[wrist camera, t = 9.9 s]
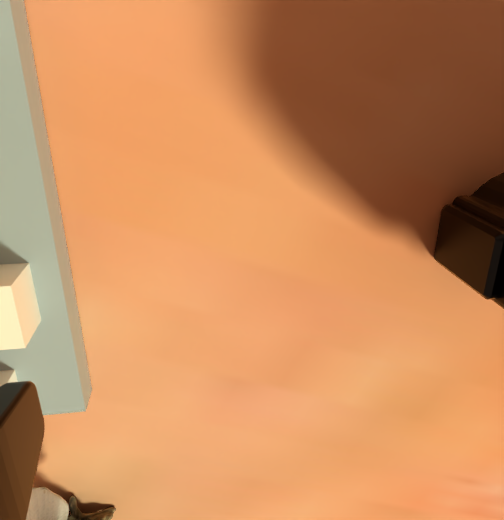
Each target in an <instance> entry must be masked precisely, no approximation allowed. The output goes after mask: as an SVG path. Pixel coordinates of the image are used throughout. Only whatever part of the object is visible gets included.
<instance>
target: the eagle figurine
mask: <svg viewBox="0 0 504 520" xmlns="http://www.w3.org/2000/svg"><path fill="white" fill-rule="evenodd" d="M69 508H70V512H71V515H70V516H68V515H69ZM115 510H116V508H114V507H110V508H106V509H104V510H102V511H99V512H95V513H87V514H84V513H82V512H81V511H80V509H79V508H78V506H77V501H76V497H75V496H71V497H70V499H69V506H68V503H67V502H66V501H65V500H64V499H63V498H62V497H61V496H60V495H58V494H56V493H54V492H52V491H51V490H49V489H48V488H46V487H39V488H34V487H33V489H32V494H31V498H30V503H29V508H28V513H27V517H26V520H110V519H111V518H112V517H113V513H114V512H115Z"/></svg>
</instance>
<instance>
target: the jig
mask: <svg viewBox="0 0 504 520" xmlns="http://www.w3.org/2000/svg"><path fill="white" fill-rule="evenodd" d="M21 381H31V382H33V383H34V384H35V386H36V389H37V392H38V397H39V401H40V405H41V410H42V414H43V415H51V414H61V413H72V412H82V411H86V409H87V405H88V402H89V398H90V395H91V391H92V387H91V381H90V375H89V369H88V364H87V358H86V352H85V347H84V341H83V335H82V329H81V324H80V318H79V312H78V307H77V301H76V295H75V289H74V284H73V278H72V272H71V267H70V261H69V255H68V249H67V244H66V238H65V232H64V227H63V221H62V215H61V209H60V204H59V198H58V192H57V187H56V181H55V175H54V169H53V164H52V158H51V152H50V147H49V141H48V135H47V129H46V124H45V118H44V112H43V107H42V101H41V95H40V89H39V84H38V78H37V72H36V66H35V61H34V55H33V49H32V44H31V38H30V32H29V26H28V21H27V15H26V9H25V4H24V0H0V386H2V385H3V384H5V383H10V382H21Z"/></svg>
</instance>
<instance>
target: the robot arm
mask: <svg viewBox="0 0 504 520" xmlns="http://www.w3.org/2000/svg"><path fill="white" fill-rule="evenodd" d="M434 259H435V260H436V261H437V262H438V263H439V264H440V265H442V266H443V267H444V268H446V269H447V270H448V271H450V272H451V273H452V274H454V275H455V276H456V277H457V278H459V279H460V280H461V281H463V282H464V283H465V284H467V285H468V286H469V287H471V288H472V289H473V290H475V291H476V292H477V293H478V294H480V295H481V296H482V297H484V298H485V299H491V300H493V301H494V302H495V303H497V304H498V305H499V306H501V307H502V308H503V309H504V173H502V174H500V175H498V176H496V177H494V178H492V179H490V180H489V181H488V182H486V183H485V184H483V185H482V186H481V187H480V188H479V189H478V190H477V191H476V192H474V193H473V194H472V195H470V196H459V197H457V198H456V199H455V200H454V202H453V205H446V206H445V207H444V208H443V209H442V212H441V218H440V224H439V231H438V237H437V243H436V249H435V255H434ZM43 437H44V418H43V414H42V410H41V405H40V401H39V397H38V392H37V389H36V386H35V384H34V383H33V382H31V381H21V382H10V383H5V384H3V385H2V386H0V520H26V517H27V513H28V508H29V503H30V498H31V494H32V489H33V484H34V479H35V475H36V470H37V465H38V461H39V456H40V451H41V446H42V442H43Z"/></svg>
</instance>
